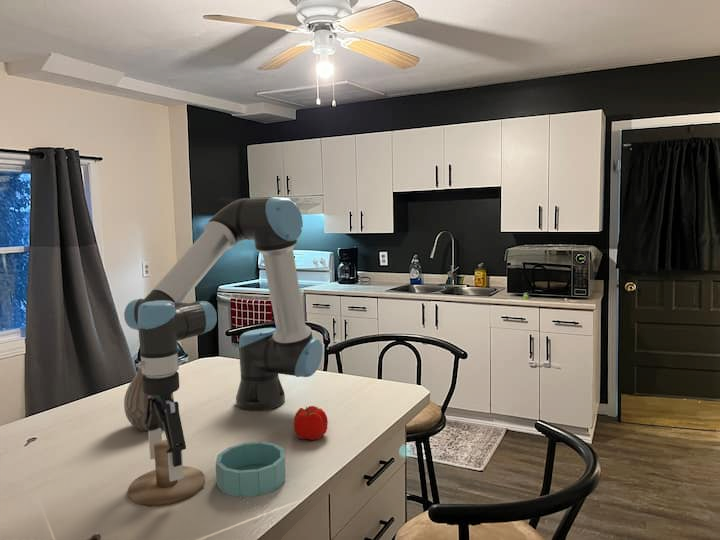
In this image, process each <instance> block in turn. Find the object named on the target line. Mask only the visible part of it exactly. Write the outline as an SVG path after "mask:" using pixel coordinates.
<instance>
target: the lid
mask: <svg viewBox="0 0 720 540" xmlns="http://www.w3.org/2000/svg"><path fill="white" fill-rule="evenodd" d="M168 449H169V446H168V442H167V439H162V441H159V442H157V443H155V444H154V453H155V459H154V463H155V464H154V465H155V467H154V468H155V469H154V470H151V471H147V472H145V473H143V474H142V475H139V476H138V477H137V478H135V479H134V480H133V481H132V482H131V483H130V484H129V485H128V487H127V493H128V494H127V496H128V497H129V499H130V500H131V502H133V503H135V504H138V505H141V506H146V507H147V506H151V507H158V506H159V507H160V506H167V505H173V504H176V503H179V502H182V501H185V500H188V499H189V498H191V497H193V496H195V495H196V494H198V493H199V492H200V491H201V490H203V489H202V487H203V488H204V486H205V483H206V477H205V473H204V472H203V471H201V470H200V469H198V468H196V467H192V466H186V465H183V478H181V479H178V480H175V481H172V482H171V481H170V480H169V464H168V453H166V451H167V450H168Z"/></svg>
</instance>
